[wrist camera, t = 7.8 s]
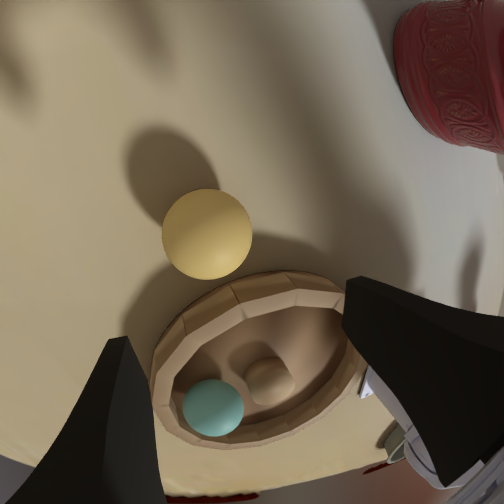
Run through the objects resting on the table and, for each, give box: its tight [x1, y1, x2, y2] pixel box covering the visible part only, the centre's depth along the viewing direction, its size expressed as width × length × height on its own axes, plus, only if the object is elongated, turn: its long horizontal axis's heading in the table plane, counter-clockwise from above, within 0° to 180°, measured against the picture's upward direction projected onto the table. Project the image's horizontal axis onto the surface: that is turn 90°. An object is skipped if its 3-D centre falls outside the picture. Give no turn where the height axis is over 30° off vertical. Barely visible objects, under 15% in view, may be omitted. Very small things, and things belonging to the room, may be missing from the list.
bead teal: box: [182, 379, 244, 436], centre depth 20 cm, size 5×5×5 cm
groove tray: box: [150, 270, 368, 450], centre depth 22 cm, size 18×18×3 cm
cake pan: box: [384, 424, 407, 463], centre depth 47 cm, size 25×25×4 cm
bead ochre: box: [162, 189, 252, 280], centre depth 15 cm, size 5×5×5 cm
